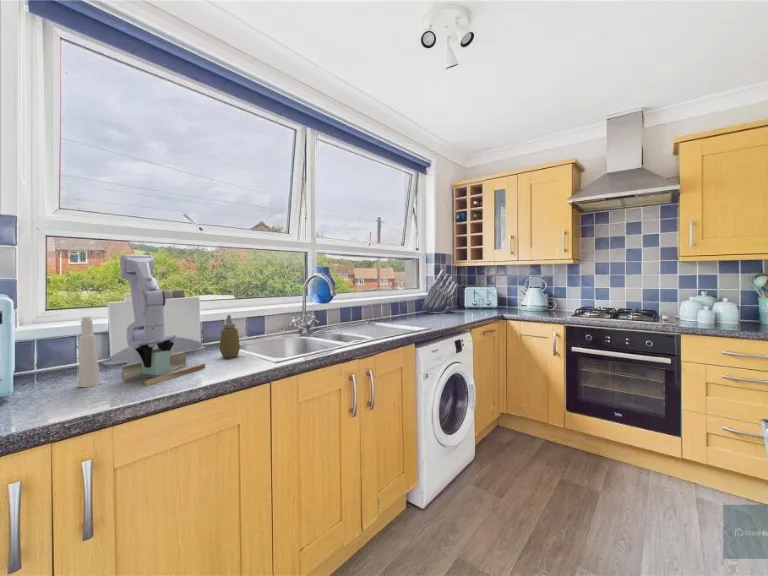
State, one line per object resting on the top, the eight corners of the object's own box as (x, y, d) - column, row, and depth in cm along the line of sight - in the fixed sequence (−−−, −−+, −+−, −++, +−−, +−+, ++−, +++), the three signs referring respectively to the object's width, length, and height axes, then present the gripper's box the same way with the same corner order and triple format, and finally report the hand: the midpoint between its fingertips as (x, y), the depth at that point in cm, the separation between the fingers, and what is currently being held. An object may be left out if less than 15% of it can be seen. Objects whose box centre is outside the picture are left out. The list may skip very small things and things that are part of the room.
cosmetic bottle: (106, 381, 113) (103, 315, 112) (91, 387, 107) (87, 318, 106) (88, 382, 113) (85, 316, 112) (71, 388, 107) (68, 318, 106)
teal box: (141, 373, 115) (140, 350, 115) (155, 369, 120) (155, 347, 119) (156, 375, 112) (155, 351, 112) (170, 370, 117) (169, 348, 117)
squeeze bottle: (235, 358, 142) (233, 316, 141) (216, 359, 142) (214, 316, 141) (243, 354, 150) (242, 314, 149) (225, 354, 150) (224, 314, 149)
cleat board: (122, 382, 112) (122, 365, 111) (183, 365, 132) (182, 351, 132) (146, 385, 108) (146, 368, 107) (205, 367, 128) (204, 353, 128)
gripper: (140, 329, 107) (142, 371, 108) (181, 323, 121) (183, 360, 121) (125, 328, 110) (127, 369, 110) (167, 322, 123) (169, 359, 124)
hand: (155, 365), depth 116 cm, fingers closed on teal box, 5 cm apart
